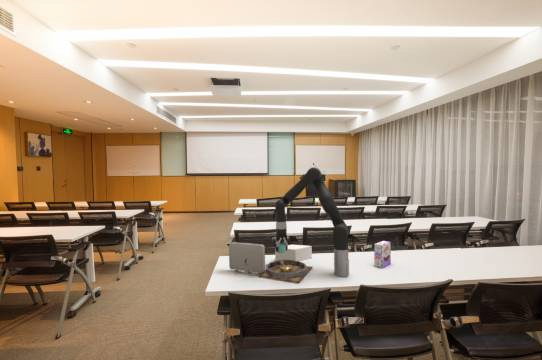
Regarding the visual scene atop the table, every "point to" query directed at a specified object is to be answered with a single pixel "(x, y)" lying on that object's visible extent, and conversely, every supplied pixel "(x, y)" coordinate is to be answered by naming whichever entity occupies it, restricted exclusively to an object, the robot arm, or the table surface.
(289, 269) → the sun gear
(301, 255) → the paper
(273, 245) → the robot arm
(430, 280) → the table surface
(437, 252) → the table surface
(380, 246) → the candy box
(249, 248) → the network device
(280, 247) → the teal short hollow cylinder
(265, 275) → the carrier plate
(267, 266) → the ring gear
